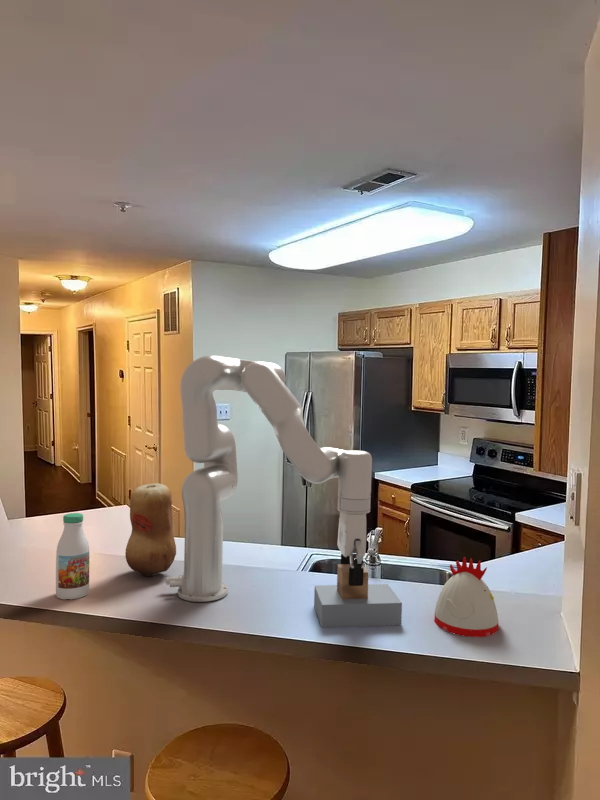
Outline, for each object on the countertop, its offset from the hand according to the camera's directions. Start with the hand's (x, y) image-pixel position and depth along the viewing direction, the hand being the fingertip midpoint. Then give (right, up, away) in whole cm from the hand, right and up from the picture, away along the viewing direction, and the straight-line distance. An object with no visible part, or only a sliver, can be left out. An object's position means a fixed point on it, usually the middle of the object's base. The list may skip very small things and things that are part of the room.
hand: (351, 577), depth 131 cm
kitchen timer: (+26, -10, -3) cm, 28 cm away
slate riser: (+1, -9, 0) cm, 9 cm away
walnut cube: (0, -4, 0) cm, 4 cm away
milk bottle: (-68, -7, +9) cm, 69 cm away
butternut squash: (-53, -7, +25) cm, 59 cm away
